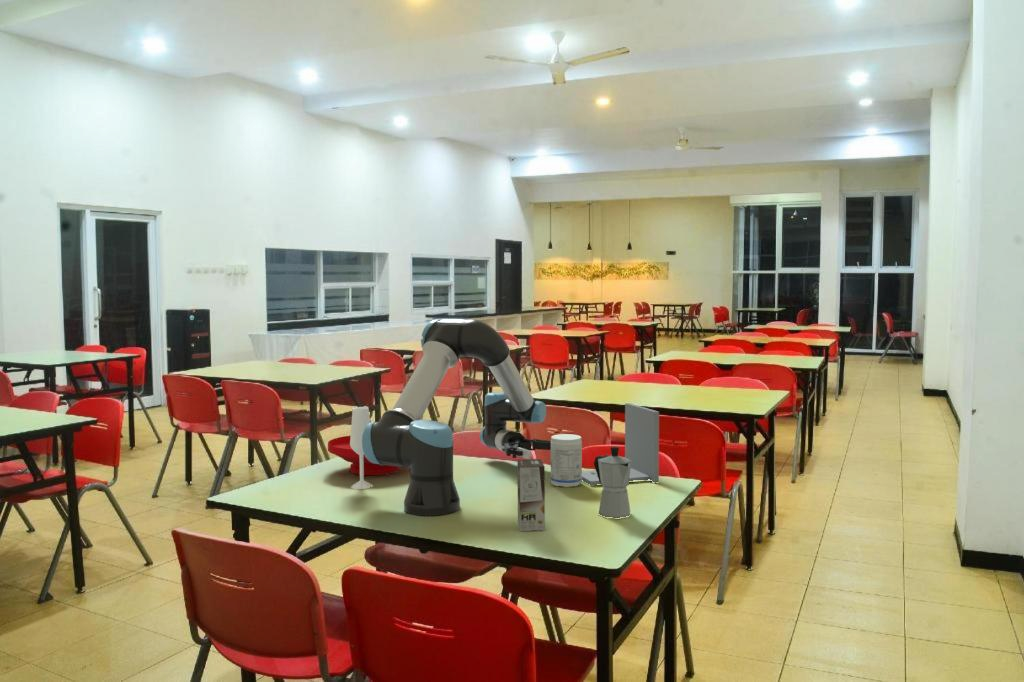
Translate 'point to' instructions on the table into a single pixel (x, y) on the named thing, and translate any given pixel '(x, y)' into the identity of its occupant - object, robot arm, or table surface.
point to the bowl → (357, 458)
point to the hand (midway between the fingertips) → (547, 452)
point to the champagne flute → (359, 440)
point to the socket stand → (638, 445)
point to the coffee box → (531, 494)
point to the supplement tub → (566, 460)
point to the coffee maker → (613, 484)
